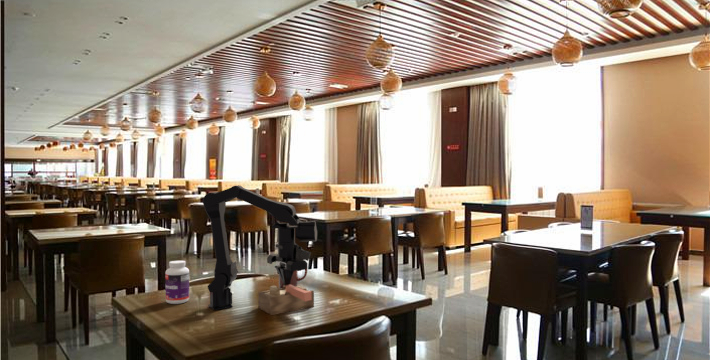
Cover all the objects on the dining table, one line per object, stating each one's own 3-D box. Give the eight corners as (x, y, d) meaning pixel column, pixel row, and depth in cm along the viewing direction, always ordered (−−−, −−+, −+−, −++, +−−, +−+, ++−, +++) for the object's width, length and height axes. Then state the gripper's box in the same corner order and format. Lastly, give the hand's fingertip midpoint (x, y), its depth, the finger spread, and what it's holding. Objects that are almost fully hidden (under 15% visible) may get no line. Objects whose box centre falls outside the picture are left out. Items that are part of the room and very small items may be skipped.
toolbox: (271, 315, 156) (270, 295, 156) (258, 308, 164) (258, 289, 164) (313, 306, 165) (313, 288, 165) (299, 300, 173) (299, 283, 173)
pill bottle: (160, 303, 171) (160, 262, 171) (178, 297, 178) (177, 259, 178) (176, 305, 167) (176, 264, 167) (194, 300, 175) (193, 260, 174)
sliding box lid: (272, 300, 158) (272, 290, 158) (263, 295, 164) (263, 286, 164) (310, 293, 166) (310, 284, 166) (300, 289, 172) (300, 280, 172)
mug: (274, 291, 187) (274, 265, 187) (280, 286, 196) (280, 260, 195) (305, 292, 186) (304, 265, 186) (309, 286, 194) (309, 261, 194)
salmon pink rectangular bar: (304, 301, 151) (304, 292, 151) (284, 292, 163) (284, 284, 163) (311, 299, 153) (311, 291, 153) (291, 291, 164) (291, 283, 164)
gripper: (321, 242, 161) (321, 288, 161) (294, 236, 176) (294, 279, 176) (291, 245, 154) (292, 294, 155) (266, 239, 170) (266, 283, 170)
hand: (287, 287), depth 164 cm, fingers closed
